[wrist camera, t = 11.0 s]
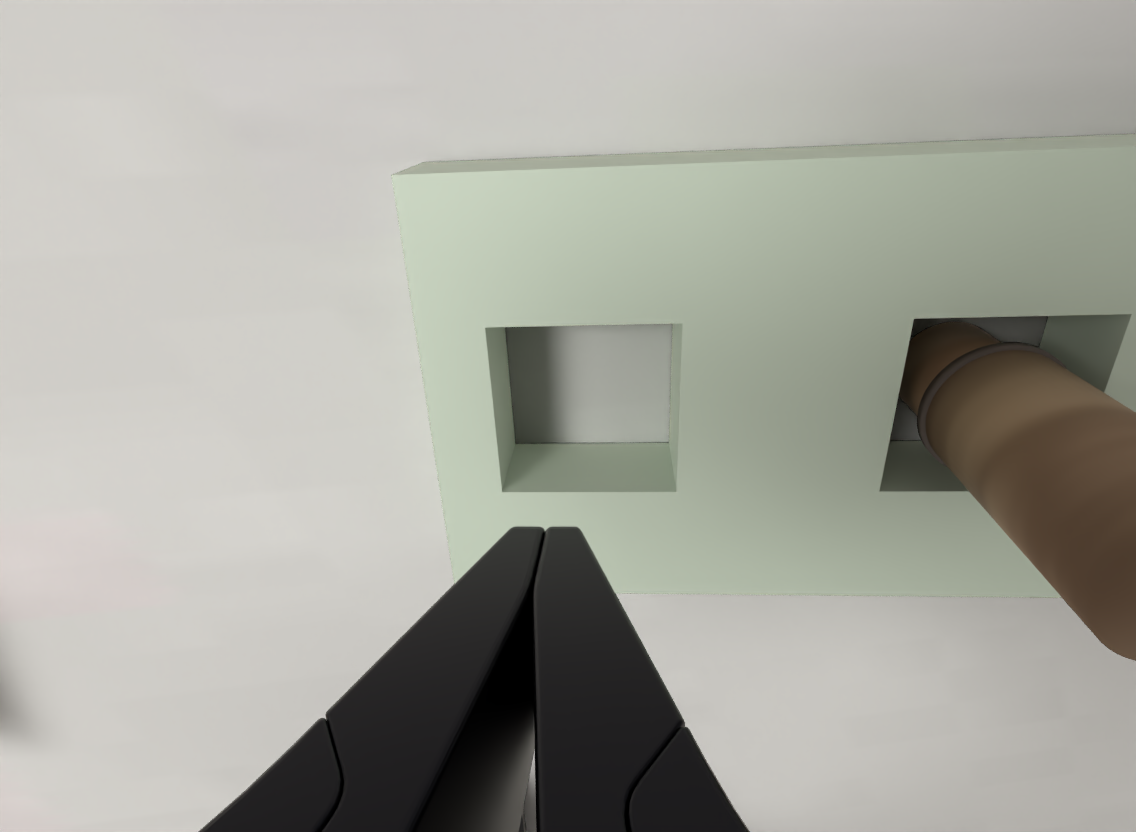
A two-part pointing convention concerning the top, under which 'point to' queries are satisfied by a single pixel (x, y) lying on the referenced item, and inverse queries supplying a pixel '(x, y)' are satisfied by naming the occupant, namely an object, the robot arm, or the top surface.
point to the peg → (1037, 463)
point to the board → (761, 346)
